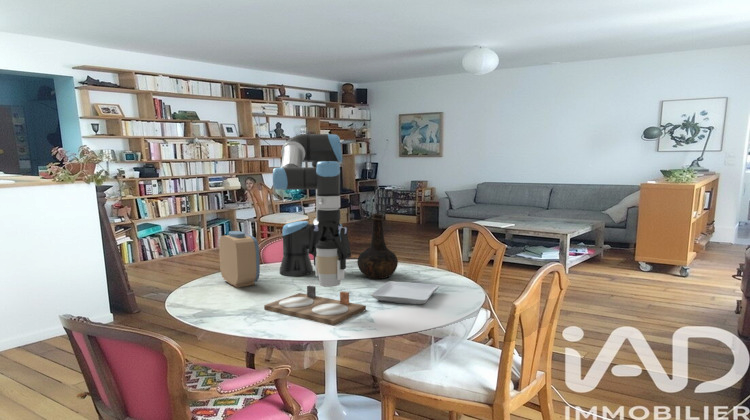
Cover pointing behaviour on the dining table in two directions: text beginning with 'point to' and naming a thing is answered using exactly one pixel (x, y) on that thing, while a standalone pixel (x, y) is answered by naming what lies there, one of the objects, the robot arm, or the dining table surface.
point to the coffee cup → (327, 263)
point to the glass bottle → (377, 254)
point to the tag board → (316, 307)
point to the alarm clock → (239, 259)
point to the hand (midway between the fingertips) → (329, 277)
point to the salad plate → (405, 292)
